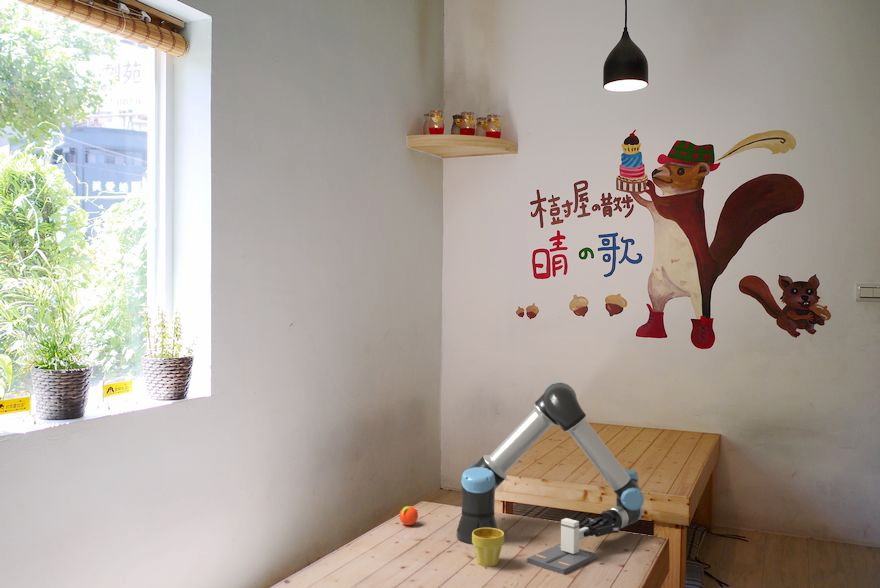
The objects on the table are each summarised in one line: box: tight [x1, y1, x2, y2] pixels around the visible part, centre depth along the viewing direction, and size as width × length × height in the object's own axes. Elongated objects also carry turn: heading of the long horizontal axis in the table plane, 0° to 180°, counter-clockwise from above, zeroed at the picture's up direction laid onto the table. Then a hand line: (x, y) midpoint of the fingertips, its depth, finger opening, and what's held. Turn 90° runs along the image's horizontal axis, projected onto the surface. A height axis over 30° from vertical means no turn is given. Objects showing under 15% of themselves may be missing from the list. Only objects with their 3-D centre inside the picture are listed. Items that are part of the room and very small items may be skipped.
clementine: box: [399, 505, 419, 526], centre depth 276 cm, size 8×7×7 cm
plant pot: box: [472, 528, 505, 567], centre depth 240 cm, size 10×10×10 cm
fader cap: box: [560, 517, 580, 554], centre depth 245 cm, size 5×3×10 cm, turn 46°
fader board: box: [526, 542, 598, 575], centre depth 242 cm, size 14×19×2 cm
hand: (576, 535), depth 245 cm, fingers closed
